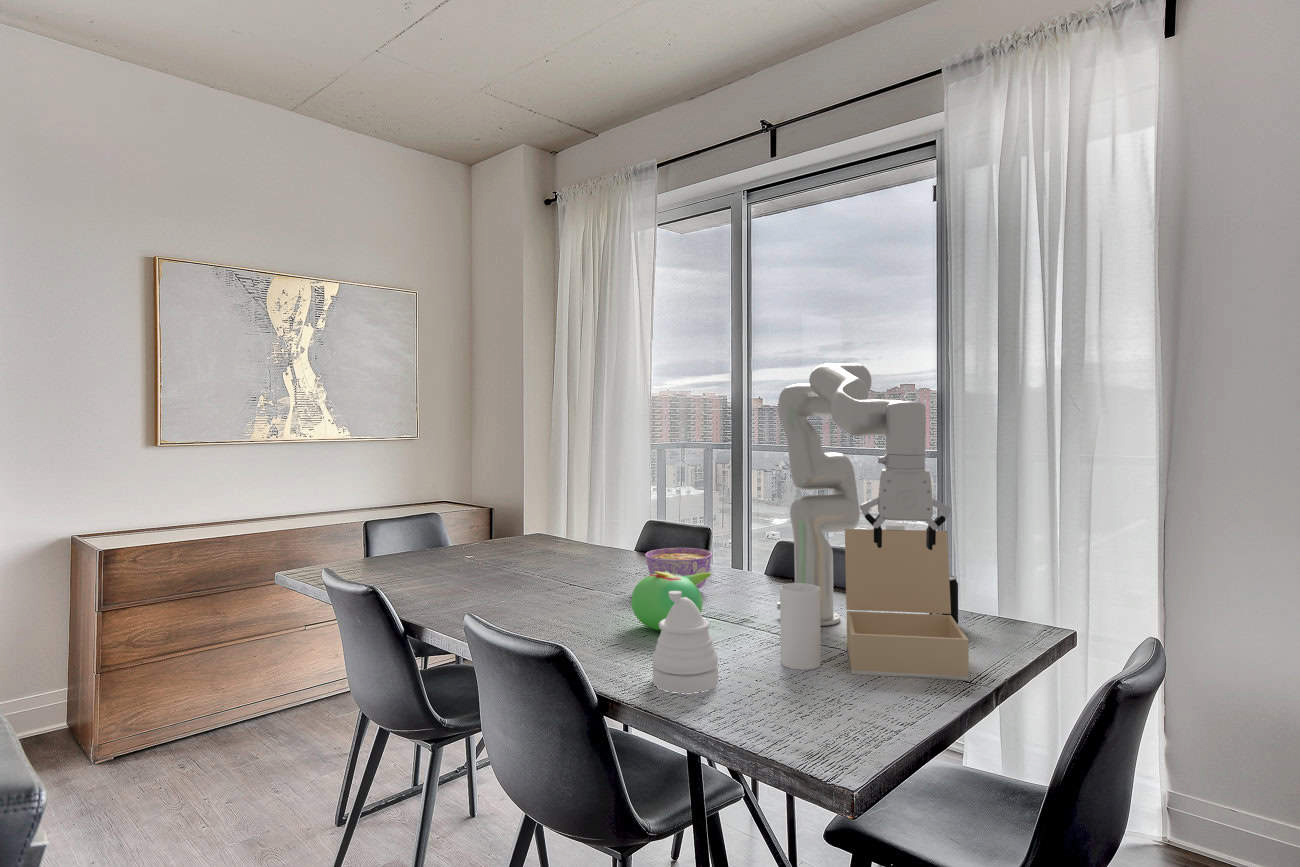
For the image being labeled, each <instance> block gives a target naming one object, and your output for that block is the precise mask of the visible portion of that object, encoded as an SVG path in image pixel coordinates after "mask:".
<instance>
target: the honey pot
mask: <svg viewBox="0 0 1300 867" xmlns="http://www.w3.org/2000/svg"><path fill="white" fill-rule="evenodd" d="M681 595H682V592H681V591H670V592H669V597H670V599H671V600H672V601H673V602H675V604H674V605H673V606H672V608H671V609H670V611H669V613H668V615H667V617H666V619H663V620H661V621H660V623H659V628H660V629H661V631H660V634H659V637H658V638H657V644H656V645H655V651H654V652H653V654H652V684H653V683H654V684H655V685H656V686H658V687H659V688H661V689H664V690H667V691H672V692H680V693H694V692H701V691H706V690H709V689H712V688H714V687H715V686H716V685H717V684H718V685H719V666H718V665H719V657H718V653H717V652H716V650H715V646H714V644H713V638H712V636H711V635H710V633H709V628H710V626H711V624H710V621H708V620H707V619H705V618H704V617H703V615H702V612H701V613H700V611H699V609H698V608H697V606H696V605H695V604H694V603H693V602H692V601H691V600H690V599H688V598H687V597H683V598H681ZM718 685H717V686H718ZM715 688H716V687H715ZM715 688H714V689H715ZM712 690H713V689H712Z"/></svg>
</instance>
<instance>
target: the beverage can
mask: <svg viewBox="0 0 1300 867" xmlns="http://www.w3.org/2000/svg"><path fill="white" fill-rule="evenodd" d="M949 582H950V603H951V614H942V613H928V614H933V615H951V616H952V617H953V619H954V620H955V622H956V623H957V624H958V625H959V583H958V581H957V576H955V575H951V574H949Z"/></svg>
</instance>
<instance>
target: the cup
mask: <svg viewBox="0 0 1300 867" xmlns="http://www.w3.org/2000/svg"><path fill="white" fill-rule="evenodd" d="M779 602H780V610H779V611H780V614H779V616H780V617H779V618H780V664H781V665H783V666H784V667H786V668H788V669H791V670H792V669H794V670H798V671H799V670H801V671H809V670H810V671H811V670H814V669H817V668H819V667H821V665H822V662H821V661H822V660H821V659H822V655H821V654H822V652H821V651H822V649H821V639H822V638H821V626H820V587H818V586H816V585H812V584H805V583H795V582H792V583H791V582H790V583H785V584H781V585H780V588H779Z"/></svg>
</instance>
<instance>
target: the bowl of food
mask: <svg viewBox="0 0 1300 867" xmlns="http://www.w3.org/2000/svg"><path fill="white" fill-rule="evenodd" d="M644 556H645V560H646V564H647V569H648V573H649V575H652V574H656V573H655V571H659V572H665V571H667V572H669V573H674V574H679V575H681V576H689V575H694V574H699V573H710V572H709V571H710V567H711V561H712V557H713V553H712V552H711V551H709V550H707V549H703V548H702V549H701V548H693V547H668V548H659V549H653V550H652V549H651V550H649V551H647V552H645V553H644ZM707 580H708V578H706V579H704V580H703V581H701V582H699V583H698V584H696V586H697V587H698V589H699V590H700V589H701V588H702V587H703V586H705V584H706V581H707Z"/></svg>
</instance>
